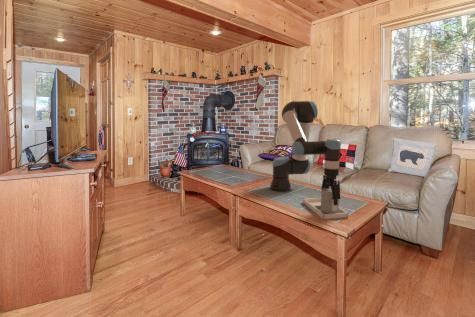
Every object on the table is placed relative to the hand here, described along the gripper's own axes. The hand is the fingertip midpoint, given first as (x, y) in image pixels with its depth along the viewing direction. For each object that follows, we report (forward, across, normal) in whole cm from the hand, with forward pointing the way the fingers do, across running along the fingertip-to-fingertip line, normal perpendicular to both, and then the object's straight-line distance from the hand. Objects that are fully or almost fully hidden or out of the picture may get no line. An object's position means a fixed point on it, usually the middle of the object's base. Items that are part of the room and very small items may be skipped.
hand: (329, 207), depth 149 cm
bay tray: (+4, +7, 0) cm, 8 cm away
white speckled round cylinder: (+2, 0, 0) cm, 2 cm away
